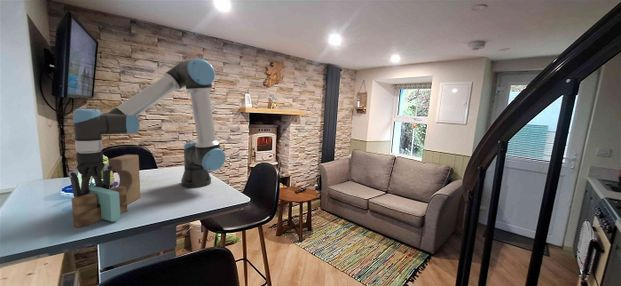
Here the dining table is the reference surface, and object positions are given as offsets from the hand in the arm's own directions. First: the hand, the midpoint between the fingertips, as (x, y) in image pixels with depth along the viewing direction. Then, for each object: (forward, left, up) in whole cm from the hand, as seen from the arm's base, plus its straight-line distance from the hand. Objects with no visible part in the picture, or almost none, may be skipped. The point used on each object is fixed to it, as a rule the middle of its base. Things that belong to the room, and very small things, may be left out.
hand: (94, 212), depth 97 cm
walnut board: (-2, +4, -1) cm, 5 cm away
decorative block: (-10, -10, -2) cm, 15 cm away
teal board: (-2, +4, 0) cm, 5 cm away
